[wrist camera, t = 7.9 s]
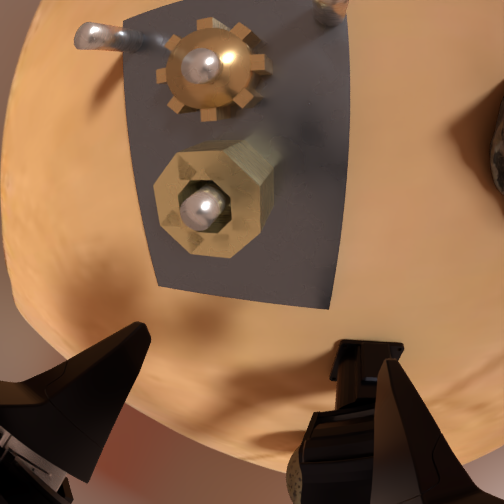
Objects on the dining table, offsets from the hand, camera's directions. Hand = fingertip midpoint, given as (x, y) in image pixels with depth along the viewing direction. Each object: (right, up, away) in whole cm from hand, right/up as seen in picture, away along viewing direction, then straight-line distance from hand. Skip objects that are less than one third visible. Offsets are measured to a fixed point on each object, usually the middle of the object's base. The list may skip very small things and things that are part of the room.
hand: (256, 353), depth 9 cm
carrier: (-2, +10, +8) cm, 13 cm away
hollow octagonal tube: (-2, +8, +8) cm, 12 cm away
